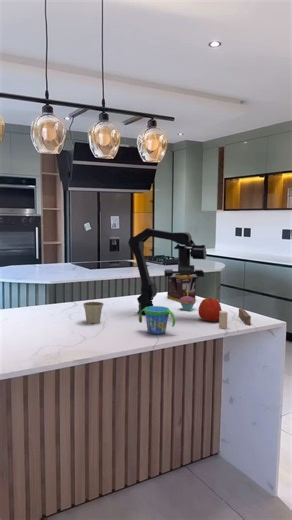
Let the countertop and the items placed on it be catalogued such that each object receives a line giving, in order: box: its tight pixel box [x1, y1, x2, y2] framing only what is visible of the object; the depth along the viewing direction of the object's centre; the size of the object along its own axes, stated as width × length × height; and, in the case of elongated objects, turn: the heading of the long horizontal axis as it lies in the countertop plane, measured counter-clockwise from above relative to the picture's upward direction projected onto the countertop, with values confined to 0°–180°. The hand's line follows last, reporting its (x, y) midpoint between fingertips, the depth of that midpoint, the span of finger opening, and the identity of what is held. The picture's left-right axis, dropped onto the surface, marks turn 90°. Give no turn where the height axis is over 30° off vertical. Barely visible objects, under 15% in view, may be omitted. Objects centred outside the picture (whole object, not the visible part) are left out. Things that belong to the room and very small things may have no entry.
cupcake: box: [178, 289, 196, 311], centre depth 205 cm, size 9×8×12 cm
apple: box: [198, 297, 223, 322], centre depth 182 cm, size 11×11×11 cm
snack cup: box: [138, 305, 176, 335], centre depth 162 cm, size 16×10×10 cm
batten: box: [238, 308, 252, 326], centre depth 182 cm, size 2×16×4 cm, turn 178°
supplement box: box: [166, 275, 197, 303], centre depth 231 cm, size 10×15×16 cm
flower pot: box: [82, 301, 104, 325], centre depth 178 cm, size 9×9×9 cm
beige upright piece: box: [217, 310, 228, 329], centre depth 182 cm, size 3×28×7 cm, turn 178°
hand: (183, 290), depth 187 cm, fingers open, 6 cm apart
